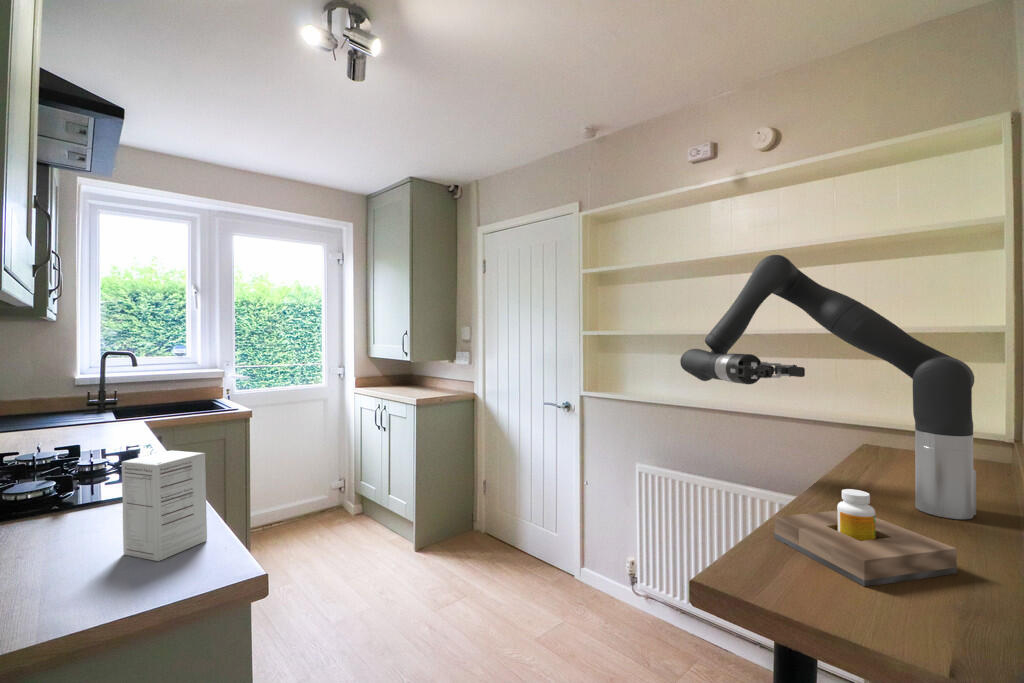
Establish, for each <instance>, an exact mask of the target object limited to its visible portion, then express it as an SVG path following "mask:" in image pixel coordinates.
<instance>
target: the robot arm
mask: <svg viewBox="0 0 1024 683" xmlns="http://www.w3.org/2000/svg"><path fill="white" fill-rule="evenodd" d="M772 294H773V295H775V296H777V297H780V298H781V299H783V300H785V301H787V302H788V303H791V304H793V305H795V306H796V307H798V308H799V309H801V310H803V311H804V312H805V313H806V314H807V315H808V316H809V317H810V318H812V319H813V320H814V321H815V322H816V323H818V324H819V325H820V326H822V327H823V328H824V329H826V330H827V331H828V332H830V333H832V334H833V335H835V337H838V338H839V339H840V340H842V341H843V342H845V343H848V344H849V345H851V346H852V347H855V349H856V348H857V349H859V350H861V351H863V352H865V353H867V354H870V355H872V356H874V357H877V358H879V359H880V360H883V361H885V362H887V363H889V364H891V365H893V367H895V368H897V369H898V370H900V371H901V372H902V373H904V374H905V375H907V376H908V377H909V378H911V379H912V412H913V418H914V429H915V430H914V431H915V432H914V435H915V436H914V437H915V438H914V441H915V444H914V448H915V449H914V450H915V451H914V452H915V453H914V454H915V455H914V457H915V460H914V461H915V462H914V463H915V464H914V465H915V466H914V467H915V469H914V470H915V471H914V472H915V473H914V474H915V481H914V482H915V490H914V491H915V495H914V496H915V499H914V500H915V509H917V510H918V511H921V512H922V513H926V514H928V515H932V516H934V517H935V516H936V517H941V518H946V519H951V520H952V519H953V520H971V519H973V518H974V516H975V515H977V470H975V469H974V420H973V406H972V405H973V401H972V400H973V399H972V398H973V397H972V396H973V395H972V394H973V392H972V391H973V389H972V388H973V387H974V384H975V375H974V372H973V370H972V369H971V367H970V366H969V365H968V364H967V363H965V362H964V361H962V360H959V359H958V358H955V357H953V356H950V355H948V354H946V353H944V352H941V351H939V350H937V349H936V348H934V347H932V346H930V345H928V344H926V343H923V342H922V341H920V340H919V339H916V338H915V337H913V336H911V335H910V334H908V333H907V332H906V331H904V329H902V328H900V327H899V326H897V325H896V324H894V323H893V321H890V320H889V319H887V318H886V317H884V316H883V315H882V314H880V313H878V312H876V310H874V309H872V308H871V307H869V306H867V305H865V304H863V303H861V301H858V300H856V299H854V298H852V297H850V296H848V295H845V294H843V293H841V292H838V291H836V290H833V289H830V288H829V287H825V286H823V285H821V284H819V283H818V282H816V280H814V279H812V278H811V277H809V276H808V275H806V274H805V273H804V272H802V271H801V270H800V269H799V268H797V266H796V265H795V264H794V263H793V262H792V261H791V260H790V259H789V258H787V257H785V256H783V255H780V254H771V255H768V256H766V257H764V258H762V259H761V260H760V261H759V262H758V263H757V265H756V266H755V268H754V270H753V271H752V273H751V275H750V276H749V278H748V280H747V281H746V283H745V285H744V287H743V288H742V290H741V291H740V293H739V294H738V296H737V297H736V299H735V300H734V302H732V305H730V307H729V309H727V311H726V312H725V313H724V315H723V316H722V317H721V319H720V320H719V321H718V322H717V323H716V324H715V325H714V326H713V328H712V329H711V330H710V331H709V333H708V334H707V335H706V337H705V339H704V342H705V344H706V346H707V347H708V348H709V349H711V350H710V351H707V350H705V349H701V348H691V349H687V350H686V351H684V353H683V354H682V355H681V357H680V360H679V361H680V362H679V363H680V367H681V368H682V369H683V370H684V371H685V372H686V373H688V374H690V375H691V376H693V377H695V378H697V380H700V381H701V382H702V381H703V382H708V381H711V380H719V381H724V382H728V383H733V384H735V383H736V384H743V385H754V384H755V383H757V382H758V381H759V380H760V379H776V378H777V379H780V378H782V377H790V378H791V377H796V378H803V377H805V376H806V371H805V370H806V368H805V367H804V366H798V365H796V364H782V363H781V362H780V363H779V362H777V363H776V362H768V361H761V359H760V358H759V357H758V356H757V355H754V354H751V353H728V352H729V350H731V348H732V347H733V346H734V345H735V344H736V343H737V341H738V340H739V339H740V338H741V337H742V336H743V334H744V333H745V332H746V329H747V328H748V326H749V324H750V322H751V321H752V319H753V317H754V315H755V314H756V312H757V311H758V309H759V307H761V305H762V304H763V303H764V301H766V299H767V298H768V297H769V296H771V295H772Z"/></svg>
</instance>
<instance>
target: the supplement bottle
mask: <svg viewBox="0 0 1024 683" xmlns="http://www.w3.org/2000/svg"><path fill="white" fill-rule="evenodd" d="M841 499H842V500H843V501H842V500H841V501H840V502H838V503H837V506H836V507H837V508H836V511H837V521H838V532H841V533H843V534H845V535H847V536H850V537H852V538H854V539H856V540H859V541H865V540H874V539H876V527H875V518H876V511H875V508H874V507H873V506H872V505H869V504H870V503H871V502H870V501H871V495H870V493H869V492H866V491H863V490H860V489H853V488H845V489H841Z"/></svg>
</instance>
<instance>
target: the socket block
mask: <svg viewBox="0 0 1024 683" xmlns="http://www.w3.org/2000/svg"><path fill="white" fill-rule="evenodd" d="M773 524H774V530H773V531H774V537H773V538H774V539H775V540H778V541H779V542H781V543H782V544H784V543H785V545H786V544H787V545H786V546H788V545H789V546H788V547H790V548H792V549H794V550H795V551H796V552H799V553H801V554H803V555H805V556H807V557H809V559H810V558H811V559H813V560H814V561H816V562H818V563H820V564H822V565H824V566H825V567H827V568H828V569H831V570H832V571H834V572H837V573H838V574H840V575H842V576H844V578H847V579H849V580H851V581H853V582H854V581H855V583H856V582H857V583H856V584H858V583H859V585H860V584H861V585H860V586H862V585H863V586H862V587H864V586H867V587H871V586H870V585H874V586H879V585H885V584H894V583H901V582H909V581H915V580H920V579H927V578H934V577H942V576H949V575H955V574H957V570H958V568H957V566H958V565H957V562H958V561H957V560H958V555H957V552H958V551H957V549H958V548H956V547H954V546H951V545H948V544H946V543H944V542H941V541H938V540H935V539H933V538H930V537H928V536H925V535H922V534H920V533H917V532H915V531H912V530H909V529H907V528H903V527H901V526H900V525H896V524H893V523H891V522H888V521H885V520H883V519H880V518H878V517H875V527H876V539H874V540H865V541H859V540H856V539H854V538H852V537H850V536H847V535H845V534H843V533H841V532H838V521H837V510H830V511H820V512H819V511H818V512H809V513H800V514H799V513H798V514H790V515H780V516H779V515H778V516H774V523H773Z"/></svg>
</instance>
